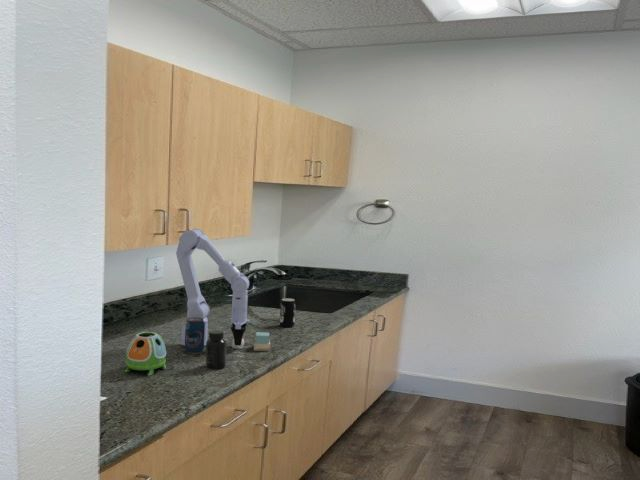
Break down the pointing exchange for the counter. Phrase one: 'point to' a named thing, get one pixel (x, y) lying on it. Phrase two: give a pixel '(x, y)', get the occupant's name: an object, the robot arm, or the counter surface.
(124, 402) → the counter surface
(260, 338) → the teal block
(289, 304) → the beverage can
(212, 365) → the supplement bottle
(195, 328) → the soda can
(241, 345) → the stoneware puck
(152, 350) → the turtle holder
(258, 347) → the beech block
